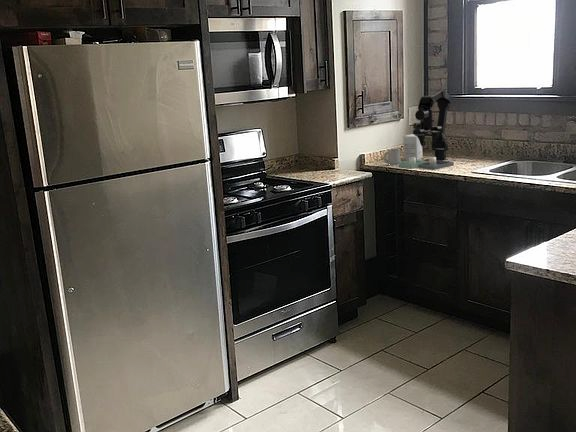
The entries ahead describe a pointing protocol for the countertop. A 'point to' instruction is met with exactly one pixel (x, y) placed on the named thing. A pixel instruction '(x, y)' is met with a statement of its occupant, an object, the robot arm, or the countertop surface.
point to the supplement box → (412, 147)
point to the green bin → (407, 165)
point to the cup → (392, 156)
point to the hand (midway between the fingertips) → (427, 145)
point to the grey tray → (438, 165)
